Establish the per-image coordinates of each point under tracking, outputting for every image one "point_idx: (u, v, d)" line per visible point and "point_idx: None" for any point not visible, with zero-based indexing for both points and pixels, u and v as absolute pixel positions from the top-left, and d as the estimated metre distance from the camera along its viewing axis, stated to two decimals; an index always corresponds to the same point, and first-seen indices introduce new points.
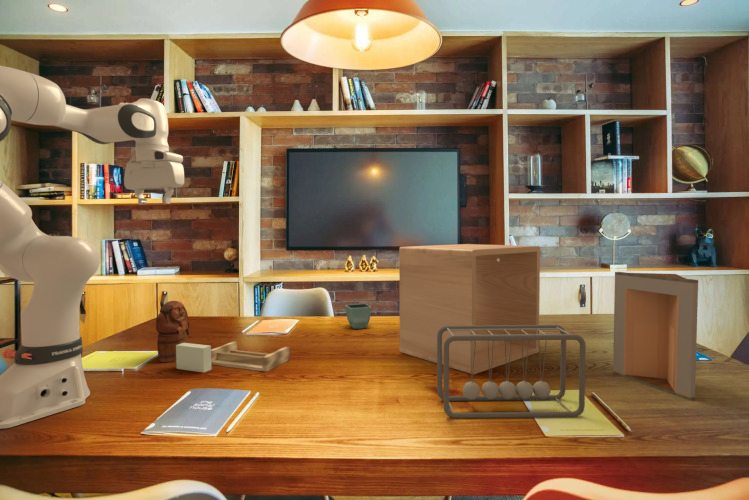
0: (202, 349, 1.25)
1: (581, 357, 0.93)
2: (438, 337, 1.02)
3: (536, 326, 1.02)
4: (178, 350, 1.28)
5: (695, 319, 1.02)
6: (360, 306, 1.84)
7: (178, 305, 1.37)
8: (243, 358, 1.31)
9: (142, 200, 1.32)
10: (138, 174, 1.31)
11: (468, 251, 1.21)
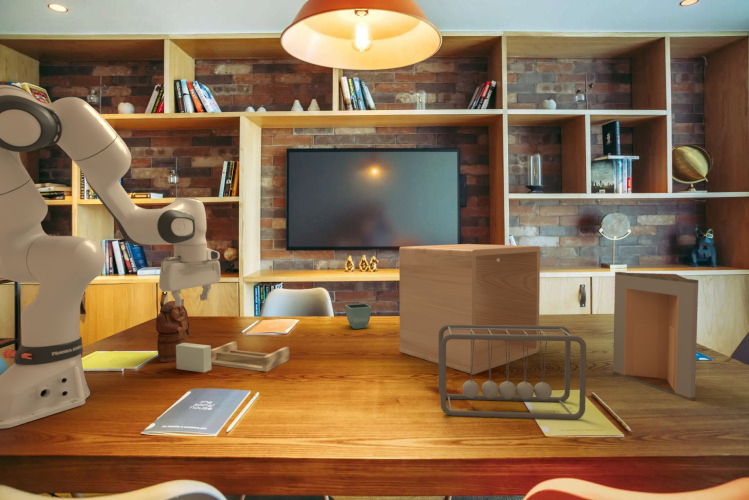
0: (202, 349, 1.25)
1: (581, 359, 0.92)
2: (439, 335, 1.04)
3: (539, 327, 1.02)
4: (178, 350, 1.28)
5: (695, 319, 1.02)
6: (360, 306, 1.84)
7: None
8: (243, 358, 1.31)
9: None
10: (185, 274, 1.23)
11: (468, 251, 1.21)
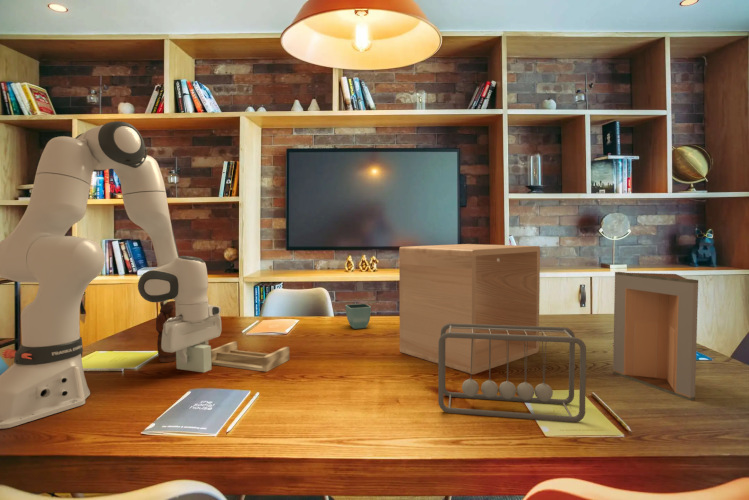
0: (202, 349, 1.25)
1: (581, 361, 0.91)
2: (441, 334, 1.05)
3: (542, 328, 1.01)
4: None
5: (695, 319, 1.02)
6: (360, 306, 1.84)
7: None
8: (243, 358, 1.31)
9: None
10: (187, 333, 1.24)
11: (468, 251, 1.21)
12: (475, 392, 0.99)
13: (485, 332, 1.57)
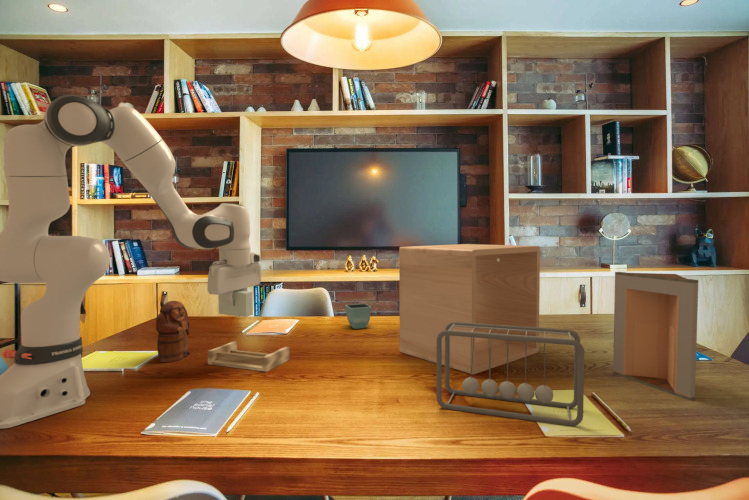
0: (245, 294, 1.28)
1: (579, 364, 0.89)
2: None
3: (546, 329, 0.99)
4: (221, 295, 1.32)
5: (695, 319, 1.02)
6: (360, 306, 1.84)
7: (178, 305, 1.37)
8: (243, 358, 1.31)
9: None
10: (231, 278, 1.27)
11: (468, 251, 1.21)
12: (474, 390, 1.00)
13: (485, 332, 1.57)
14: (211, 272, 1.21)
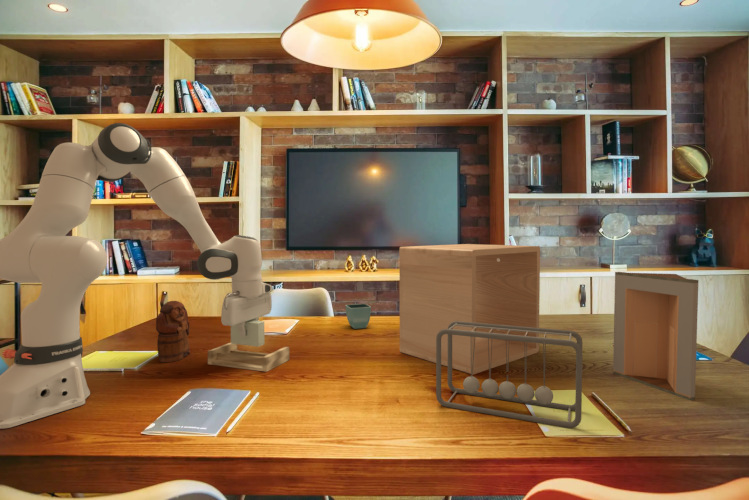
0: (257, 324, 1.31)
1: (576, 365, 0.88)
2: None
3: (547, 330, 0.99)
4: (233, 325, 1.34)
5: (695, 319, 1.02)
6: (360, 306, 1.84)
7: (178, 305, 1.37)
8: (243, 358, 1.31)
9: None
10: (243, 308, 1.30)
11: (468, 251, 1.21)
12: (474, 389, 1.01)
13: None
14: (225, 304, 1.24)
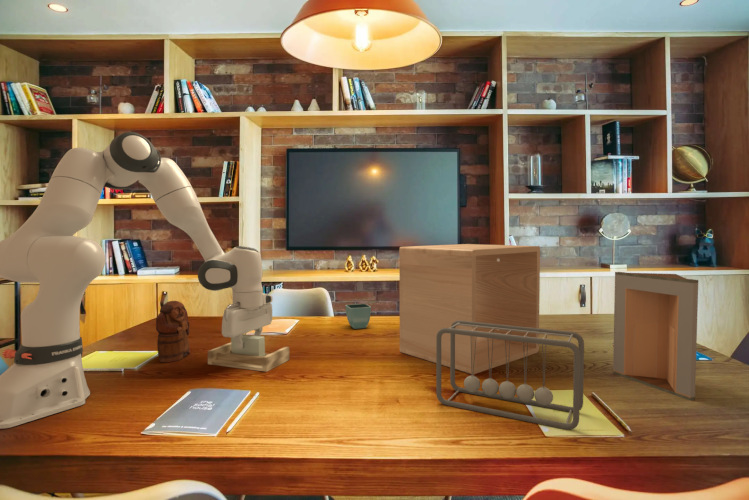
0: (257, 340, 1.31)
1: (574, 367, 0.87)
2: None
3: (548, 330, 0.98)
4: (233, 341, 1.34)
5: (695, 319, 1.02)
6: (360, 306, 1.84)
7: (178, 305, 1.37)
8: (243, 358, 1.31)
9: None
10: (244, 320, 1.30)
11: (468, 251, 1.21)
12: (474, 388, 1.01)
13: None
14: (225, 315, 1.24)
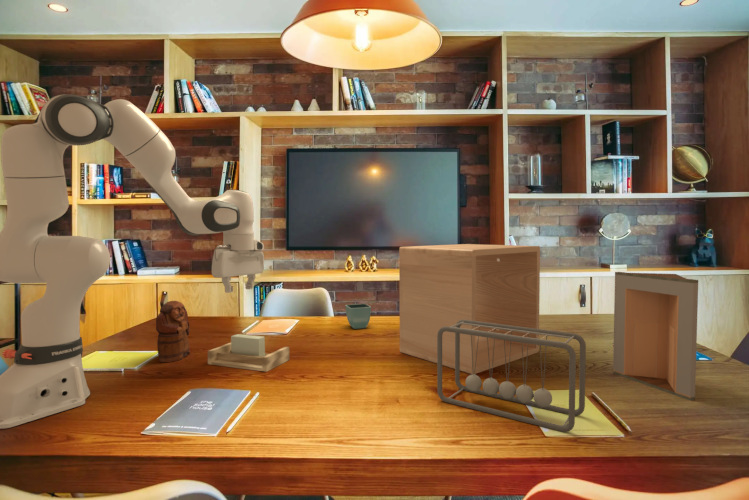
0: (257, 340, 1.31)
1: (569, 368, 0.86)
2: None
3: (550, 332, 0.97)
4: (233, 341, 1.34)
5: (695, 319, 1.02)
6: (360, 306, 1.84)
7: (178, 305, 1.37)
8: (243, 358, 1.31)
9: None
10: (234, 262, 1.29)
11: (468, 251, 1.21)
12: (475, 387, 1.02)
13: None
14: (215, 255, 1.23)
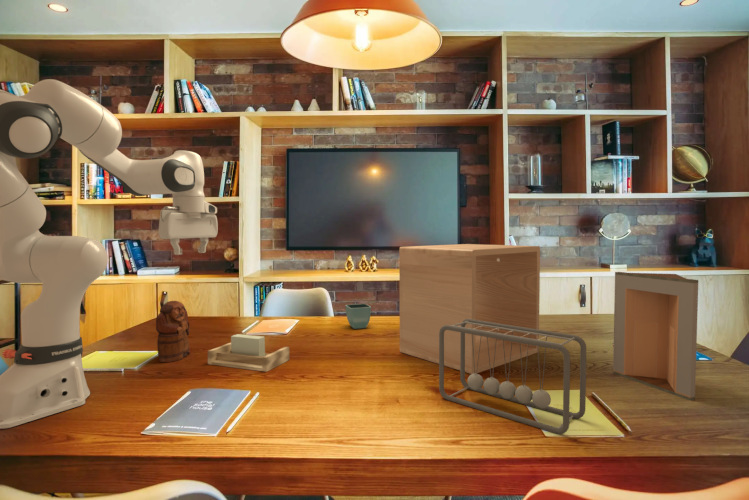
0: (257, 340, 1.31)
1: (564, 370, 0.85)
2: None
3: (551, 333, 0.96)
4: (233, 341, 1.34)
5: (695, 319, 1.02)
6: (360, 306, 1.84)
7: (177, 305, 1.37)
8: (243, 358, 1.31)
9: None
10: (183, 224, 1.27)
11: (468, 251, 1.21)
12: (476, 386, 1.03)
13: None
14: (162, 216, 1.22)
